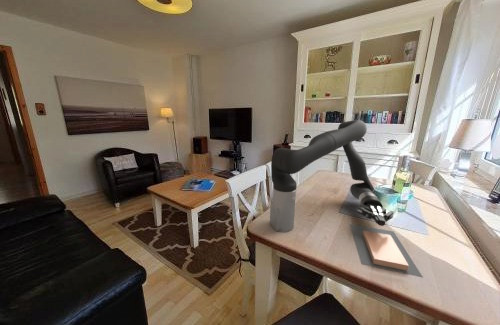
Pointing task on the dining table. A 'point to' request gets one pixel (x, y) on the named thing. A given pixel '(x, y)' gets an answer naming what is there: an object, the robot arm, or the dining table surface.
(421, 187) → the dining table surface
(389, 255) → the glazed tile
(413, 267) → the mat
